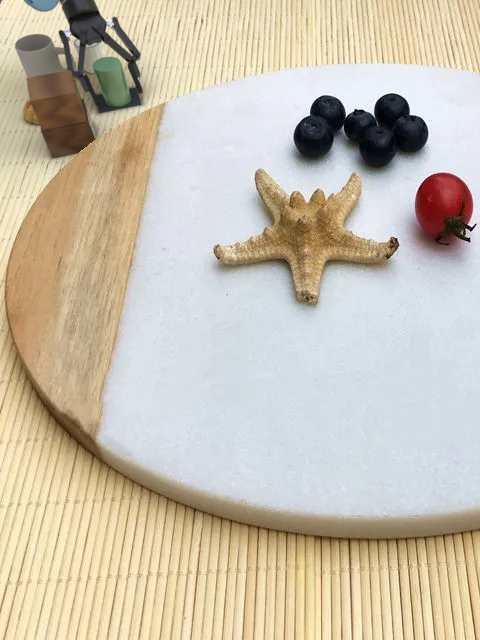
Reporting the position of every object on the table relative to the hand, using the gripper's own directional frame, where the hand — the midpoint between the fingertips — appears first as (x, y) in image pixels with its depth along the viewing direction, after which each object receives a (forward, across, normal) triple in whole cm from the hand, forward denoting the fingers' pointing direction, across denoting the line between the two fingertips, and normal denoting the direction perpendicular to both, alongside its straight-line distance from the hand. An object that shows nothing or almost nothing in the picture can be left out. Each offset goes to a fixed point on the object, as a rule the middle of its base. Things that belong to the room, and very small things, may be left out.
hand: (119, 98), depth 159 cm
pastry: (-2, -17, +6) cm, 18 cm away
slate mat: (0, 0, +4) cm, 4 cm away
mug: (-10, -11, +14) cm, 20 cm away
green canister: (-1, 0, +4) cm, 4 cm away
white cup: (-12, 0, +16) cm, 20 cm away
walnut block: (+7, -14, -4) cm, 16 cm away
